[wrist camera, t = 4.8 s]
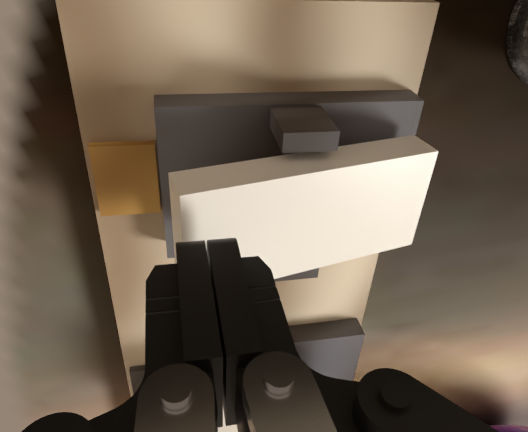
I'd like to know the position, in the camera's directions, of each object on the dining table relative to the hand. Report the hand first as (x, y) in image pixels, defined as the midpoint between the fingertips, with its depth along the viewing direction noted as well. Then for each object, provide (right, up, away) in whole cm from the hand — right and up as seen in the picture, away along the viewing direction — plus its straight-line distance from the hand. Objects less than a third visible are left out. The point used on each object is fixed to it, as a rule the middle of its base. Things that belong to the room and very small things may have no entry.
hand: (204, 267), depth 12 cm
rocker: (+3, +2, +3) cm, 4 cm away
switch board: (0, -6, +12) cm, 13 cm away
